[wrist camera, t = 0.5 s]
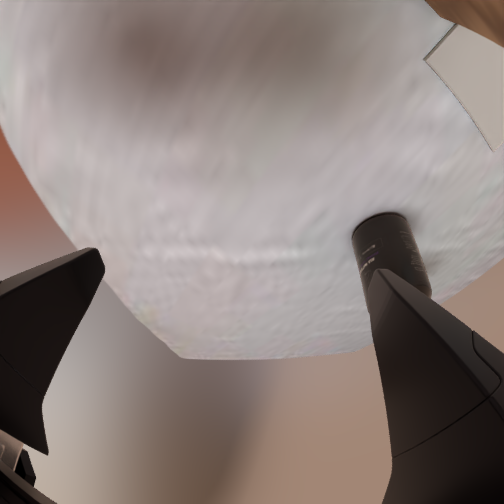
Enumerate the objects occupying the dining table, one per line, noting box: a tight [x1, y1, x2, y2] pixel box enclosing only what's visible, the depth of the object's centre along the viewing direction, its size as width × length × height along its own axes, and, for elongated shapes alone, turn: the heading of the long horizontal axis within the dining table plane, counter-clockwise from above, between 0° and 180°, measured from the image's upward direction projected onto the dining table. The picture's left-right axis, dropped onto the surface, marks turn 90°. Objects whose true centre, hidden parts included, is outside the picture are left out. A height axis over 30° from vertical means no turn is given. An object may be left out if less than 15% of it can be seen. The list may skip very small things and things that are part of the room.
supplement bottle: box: [352, 214, 432, 314], centre depth 25 cm, size 7×7×12 cm
